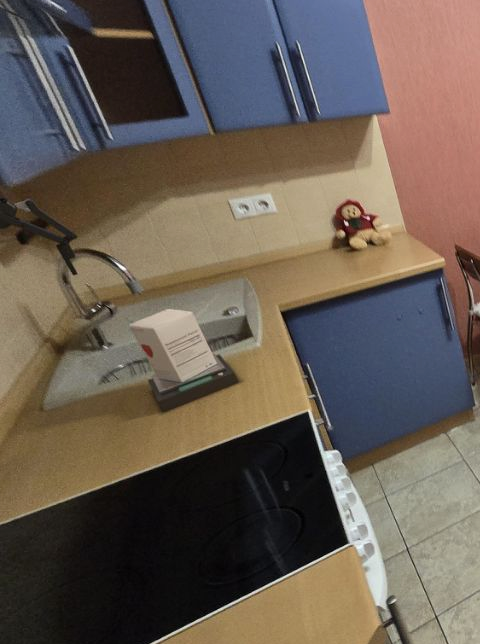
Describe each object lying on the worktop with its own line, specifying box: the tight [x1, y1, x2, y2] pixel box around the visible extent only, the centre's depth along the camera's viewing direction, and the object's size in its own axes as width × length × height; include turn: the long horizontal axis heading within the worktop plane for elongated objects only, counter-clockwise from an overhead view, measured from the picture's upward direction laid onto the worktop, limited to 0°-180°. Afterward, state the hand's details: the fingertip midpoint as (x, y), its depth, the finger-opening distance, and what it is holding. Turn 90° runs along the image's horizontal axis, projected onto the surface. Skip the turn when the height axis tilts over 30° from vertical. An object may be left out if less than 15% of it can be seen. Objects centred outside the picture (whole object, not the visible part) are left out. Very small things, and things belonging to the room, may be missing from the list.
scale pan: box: [151, 352, 226, 394], centre depth 132 cm, size 12×13×1 cm
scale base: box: [147, 353, 239, 413], centre depth 132 cm, size 15×15×3 cm
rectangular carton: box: [128, 308, 217, 382], centre depth 128 cm, size 9×9×15 cm
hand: (30, 284), depth 111 cm, fingers open, 13 cm apart
